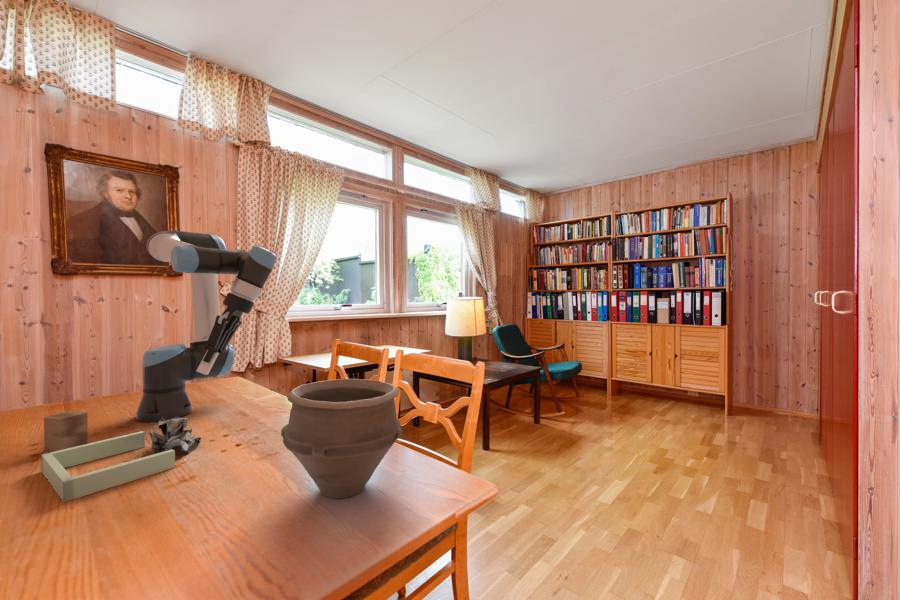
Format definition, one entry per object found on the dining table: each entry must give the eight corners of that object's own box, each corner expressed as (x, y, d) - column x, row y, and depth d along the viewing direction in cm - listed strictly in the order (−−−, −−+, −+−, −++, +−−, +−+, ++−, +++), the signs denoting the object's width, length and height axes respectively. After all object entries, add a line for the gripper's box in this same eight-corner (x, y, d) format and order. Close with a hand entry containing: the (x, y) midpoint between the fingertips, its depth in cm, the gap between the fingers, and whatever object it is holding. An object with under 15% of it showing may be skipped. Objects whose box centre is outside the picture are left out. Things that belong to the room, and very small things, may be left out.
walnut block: (72, 442, 106) (72, 410, 106) (87, 445, 104) (87, 412, 104) (44, 451, 100) (44, 417, 100) (60, 454, 98) (59, 419, 98)
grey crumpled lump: (124, 450, 93) (161, 402, 106) (145, 475, 99) (177, 427, 112) (172, 448, 93) (203, 400, 106) (190, 474, 99) (217, 426, 112)
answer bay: (142, 445, 104) (142, 430, 104) (174, 467, 92) (174, 450, 91) (41, 471, 89) (41, 454, 89) (63, 502, 76) (63, 482, 76)
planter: (271, 480, 86) (270, 382, 85) (371, 454, 100) (371, 369, 99) (302, 538, 65) (300, 410, 65) (422, 495, 80) (421, 389, 79)
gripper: (237, 294, 118) (199, 366, 114) (220, 288, 105) (176, 369, 101) (261, 304, 119) (224, 376, 114) (246, 299, 106) (204, 379, 102)
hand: (202, 372), depth 108 cm, fingers closed
